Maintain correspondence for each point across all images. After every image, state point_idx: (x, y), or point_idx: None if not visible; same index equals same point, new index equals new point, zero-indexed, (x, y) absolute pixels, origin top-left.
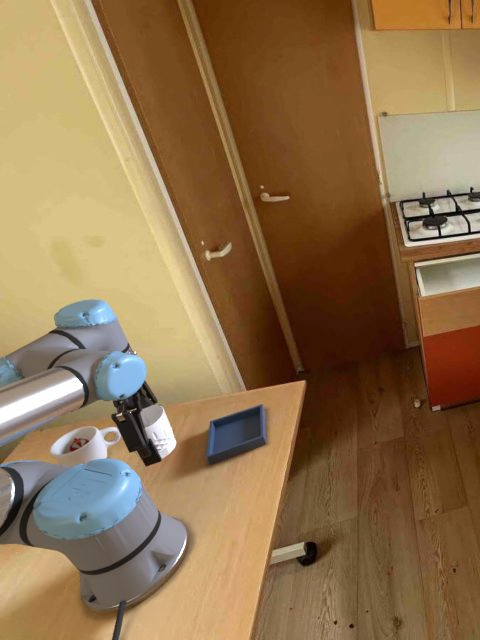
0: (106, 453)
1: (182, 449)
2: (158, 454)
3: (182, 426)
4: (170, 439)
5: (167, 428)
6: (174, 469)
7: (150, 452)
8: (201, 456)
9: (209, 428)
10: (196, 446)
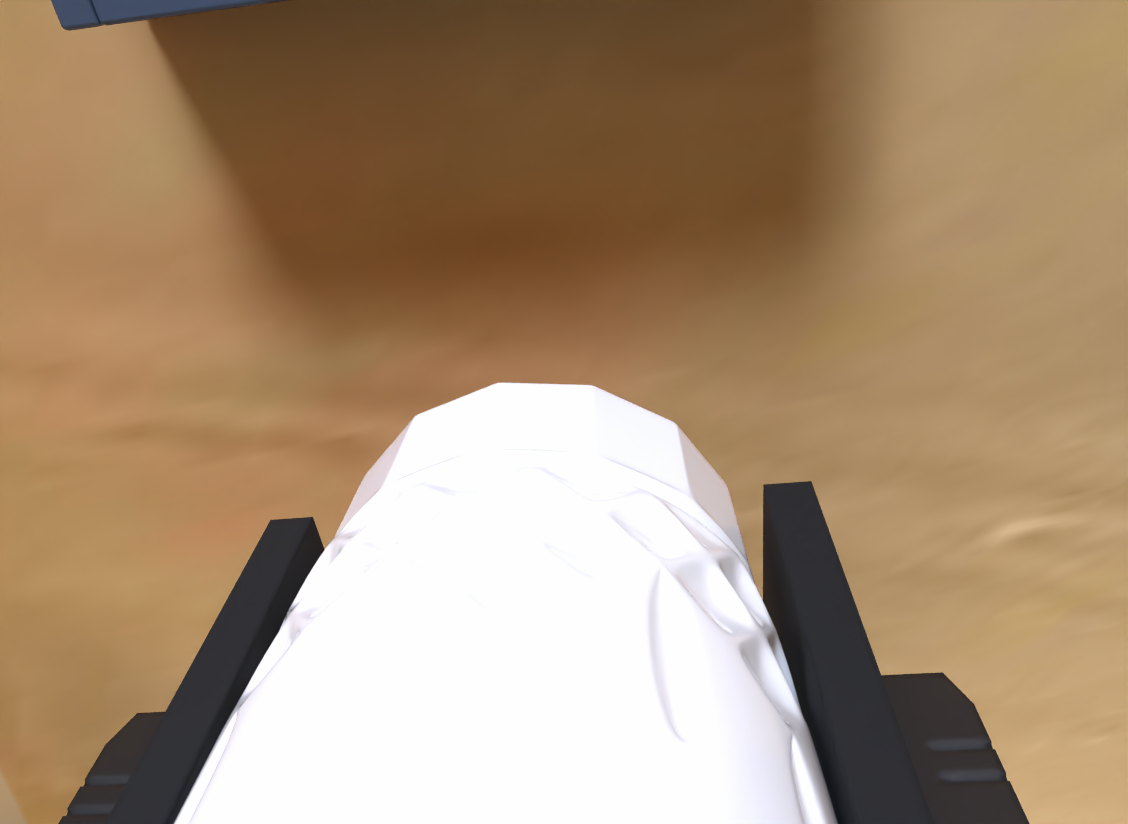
0: None
1: (422, 303)
2: (816, 562)
3: (77, 374)
4: (587, 488)
5: (566, 662)
6: (685, 318)
7: (927, 709)
8: (614, 66)
9: (224, 2)
10: (421, 164)
